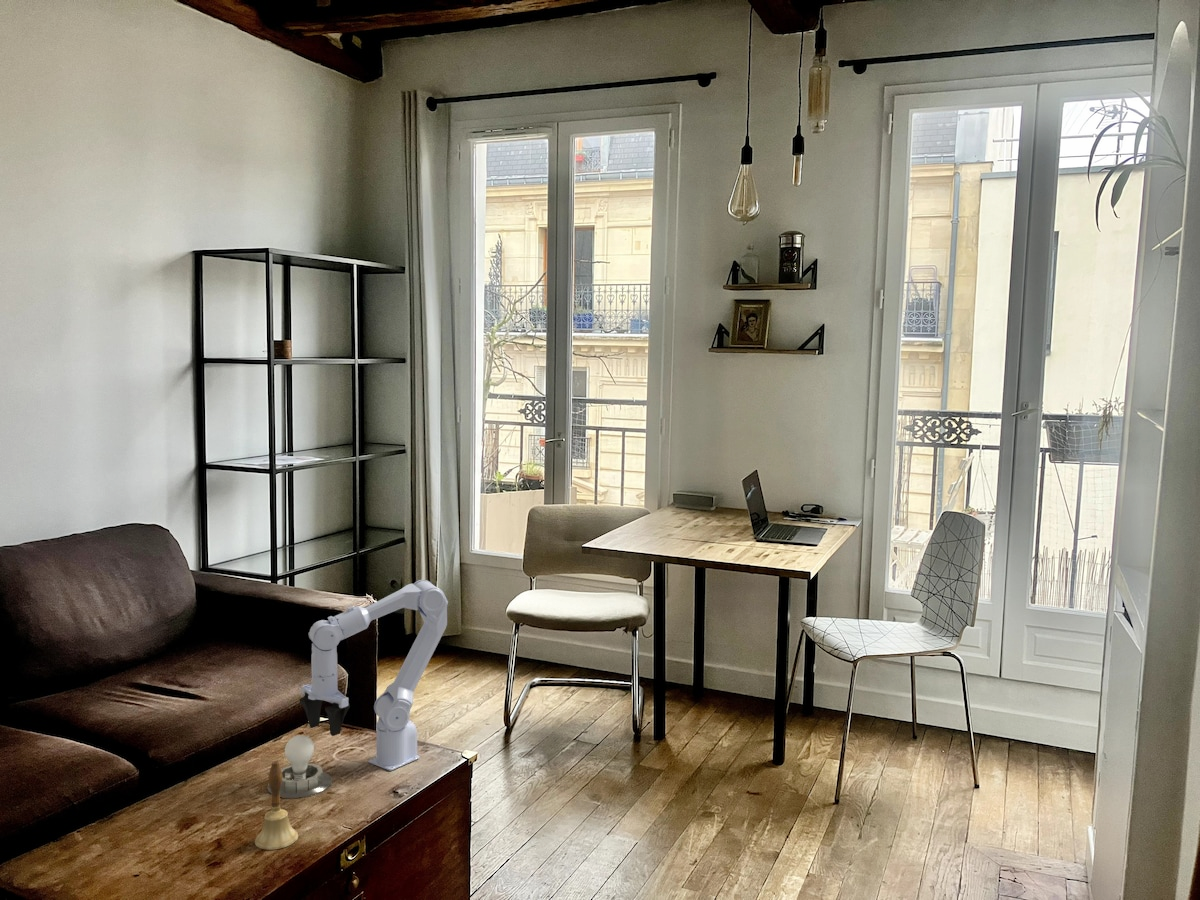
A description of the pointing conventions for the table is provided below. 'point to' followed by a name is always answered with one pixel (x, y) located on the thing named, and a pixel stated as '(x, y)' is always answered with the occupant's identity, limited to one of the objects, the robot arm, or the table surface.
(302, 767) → the lightbulb
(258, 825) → the table surface
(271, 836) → the hand bell
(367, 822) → the table surface
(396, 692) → the robot arm
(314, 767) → the lamp base
